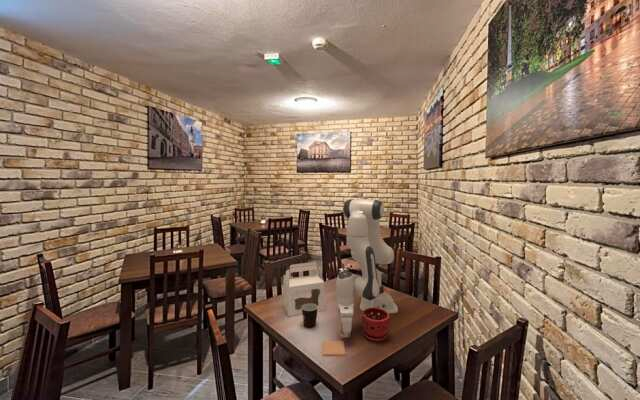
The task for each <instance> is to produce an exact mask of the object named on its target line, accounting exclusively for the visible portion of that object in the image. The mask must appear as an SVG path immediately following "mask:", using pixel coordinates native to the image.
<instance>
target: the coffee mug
mask: <svg viewBox="0 0 640 400" xmlns="http://www.w3.org/2000/svg"><path fill="white" fill-rule="evenodd" d="M317 309H318V306H317V305H315V304H305V305H303V306H302V314H301V315H302V320H303V321H302V322H303V327H304V328H305V329H313V328H315V327H316V324H317V316H318V312H317Z"/></svg>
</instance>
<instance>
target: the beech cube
mask: <svg viewBox="0 0 640 400" xmlns="http://www.w3.org/2000/svg"><path fill="white" fill-rule="evenodd" d="M339 337H340V338H341V339H342V338H345V337H344V332H343V328H342V322H339ZM347 338H351V332H350V333H348V337H347Z"/></svg>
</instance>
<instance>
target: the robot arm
mask: <svg viewBox="0 0 640 400" xmlns="http://www.w3.org/2000/svg"><path fill="white" fill-rule="evenodd" d="M342 212H343V214H344V216H345V218H346V219H347V220H348V221H347V225H346V237H345V238H346V244H347V247H348V248H349V249H350V255H351V257H352V259H353V260H354V261H355V262H356V263H357V264H358V266H359V268H360V270H361V275H360V274H359V275H356V274H352V273H351V272H349V271H348V270H346V271H341V272H339V273H338V274H337V277H336V286H335V287H336V288H335V291H336V297H335V298H336V299H335V307H336V308H335V310H337V312H338V313H339V317H340V320H341V322H340V323H342V328H343V332H344V337H343V338H349V337H348V333H350V332H351V331H352V326H353V325H352V324H353V317H354V309H355V298H354V295H355V294H356V295H355V296H358V297H361V298H360V299H361V300H360V305H359V309H360V310H361V311H362V312H363V311H364V310H365V309H367V308H380V309H383V310H385V311H387V312H388V314H389V315H390V314H396V313H398V312H399V309H398V305H397V304H396V303H395V302H394V299H393V297H392V296H391V295H390V294H389V293H388V292H387V288H386V287H385V286H384V285H383V284H382V273H381V270H379V269H378V268H377V264H378V265H389V264H391V263H392V262H393V261H394V258H395V251H394V250H393V248H392V247H391V246H389V245H388V244H387V243H386V242H385V240H384V238H383V237H382V234H381V227H380V226H381V225H380V219H381V218H383V216H384V213H385V205H384V203H383V202H382V201H381V200H378V199H369V198H368V199H367V198H361V199H359V198H358V199H354V198H353V199H347V200H346V201H345V202H344V204H343V209H342ZM371 314H372V313H371ZM378 315H380V314H379V313H378Z"/></svg>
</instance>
